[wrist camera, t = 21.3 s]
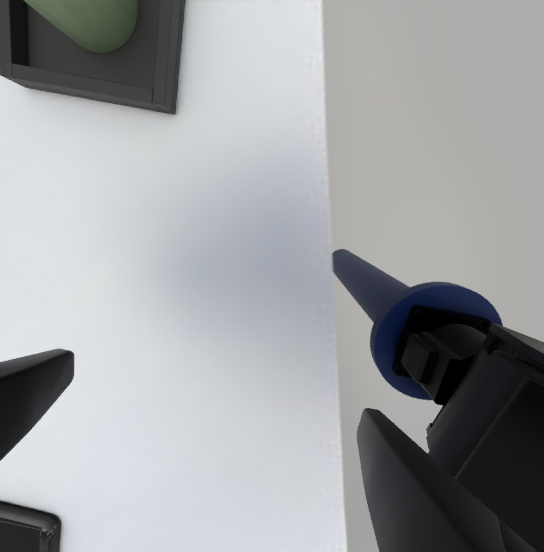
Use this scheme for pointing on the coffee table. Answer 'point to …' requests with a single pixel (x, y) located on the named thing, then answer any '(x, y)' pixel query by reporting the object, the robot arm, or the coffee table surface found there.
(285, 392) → the coffee table surface
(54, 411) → the coffee table surface
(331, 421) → the coffee table surface
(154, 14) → the tray
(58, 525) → the phone
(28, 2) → the vase
